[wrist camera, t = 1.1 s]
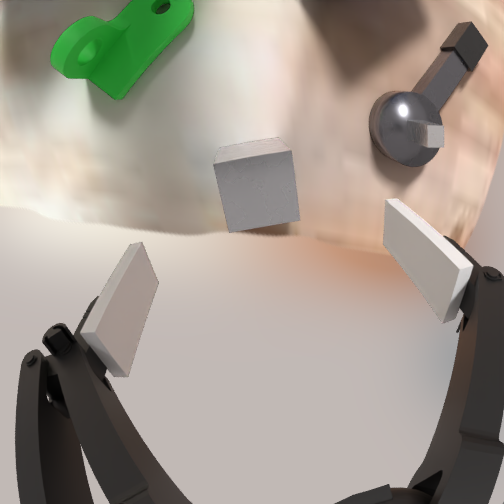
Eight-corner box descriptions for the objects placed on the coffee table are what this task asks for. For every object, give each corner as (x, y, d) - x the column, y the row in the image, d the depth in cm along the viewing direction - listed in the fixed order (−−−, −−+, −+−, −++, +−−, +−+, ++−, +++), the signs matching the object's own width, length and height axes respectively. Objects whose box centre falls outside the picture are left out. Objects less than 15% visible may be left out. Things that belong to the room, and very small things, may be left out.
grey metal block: (219, 147, 25) (213, 164, 19) (278, 137, 25) (291, 150, 19) (231, 201, 28) (229, 232, 22) (286, 191, 28) (300, 220, 22)
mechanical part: (122, 99, 22) (82, 103, 15) (85, 70, 20) (39, 68, 13) (207, 8, 18) (195, -23, 11) (164, -19, 16) (140, -51, 9)
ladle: (355, 127, 24) (385, 137, 19) (447, 10, 16) (483, 4, 10) (401, 172, 27) (434, 193, 21) (482, 57, 18) (518, 60, 12)
